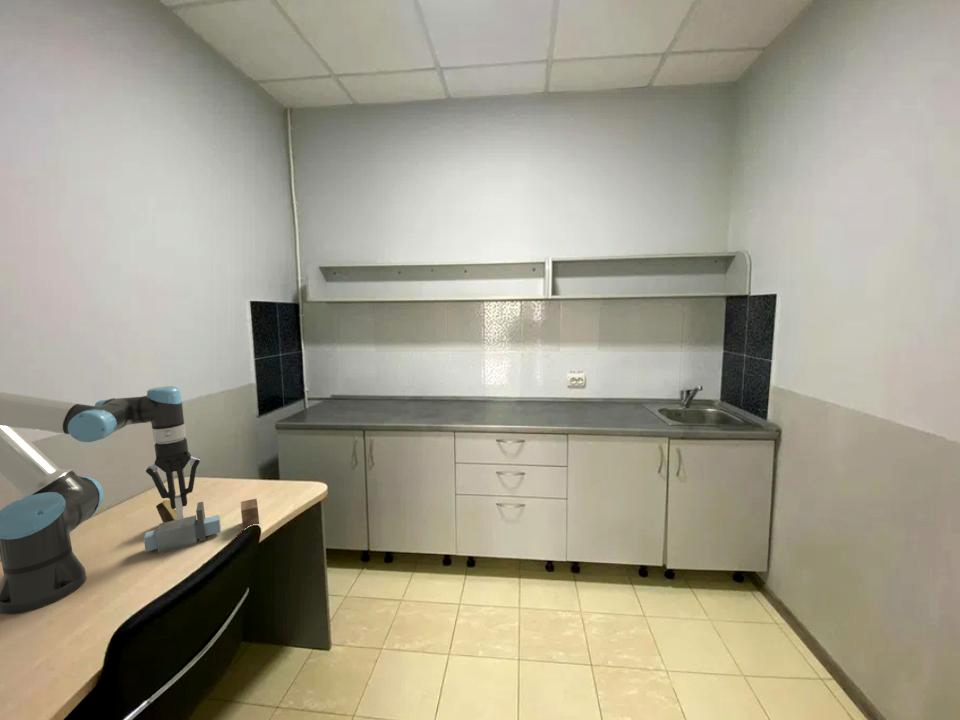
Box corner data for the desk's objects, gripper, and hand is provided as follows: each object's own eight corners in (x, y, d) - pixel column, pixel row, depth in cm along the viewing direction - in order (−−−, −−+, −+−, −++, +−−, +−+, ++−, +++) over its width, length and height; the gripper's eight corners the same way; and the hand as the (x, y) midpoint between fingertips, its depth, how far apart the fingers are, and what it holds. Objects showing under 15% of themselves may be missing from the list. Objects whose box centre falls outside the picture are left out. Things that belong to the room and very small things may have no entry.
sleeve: (158, 553, 118) (155, 533, 117) (162, 543, 123) (159, 523, 122) (196, 543, 122) (194, 524, 121) (198, 534, 128) (196, 515, 127)
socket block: (243, 532, 128) (241, 510, 127) (242, 522, 134) (240, 501, 133) (259, 527, 130) (257, 506, 129) (258, 518, 136) (256, 498, 135)
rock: (160, 514, 137) (140, 525, 127) (176, 491, 138) (158, 500, 128) (189, 530, 138) (173, 542, 128) (205, 508, 139) (190, 518, 130)
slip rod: (145, 555, 116) (140, 523, 115) (149, 545, 121) (144, 514, 120) (220, 536, 125) (217, 506, 124) (221, 527, 131) (217, 498, 129)
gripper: (139, 448, 113) (151, 529, 116) (196, 439, 119) (206, 516, 122) (144, 441, 119) (155, 518, 122) (198, 432, 126) (207, 506, 129)
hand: (181, 517), depth 122 cm, fingers closed
